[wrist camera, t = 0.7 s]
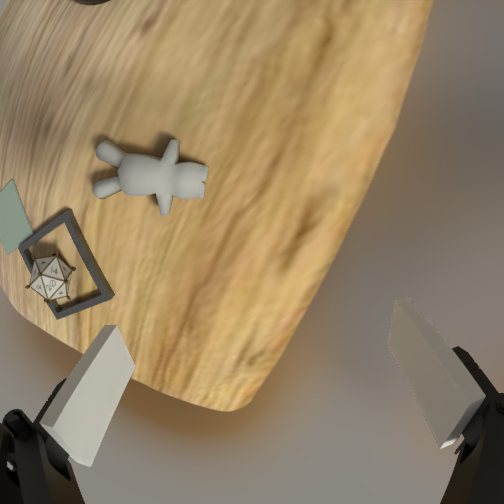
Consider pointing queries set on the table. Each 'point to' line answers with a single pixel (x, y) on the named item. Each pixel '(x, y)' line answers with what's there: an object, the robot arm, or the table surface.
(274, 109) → the table surface
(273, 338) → the table surface
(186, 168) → the grey teddy bear
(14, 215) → the pad
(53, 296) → the game die
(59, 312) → the socket frame
